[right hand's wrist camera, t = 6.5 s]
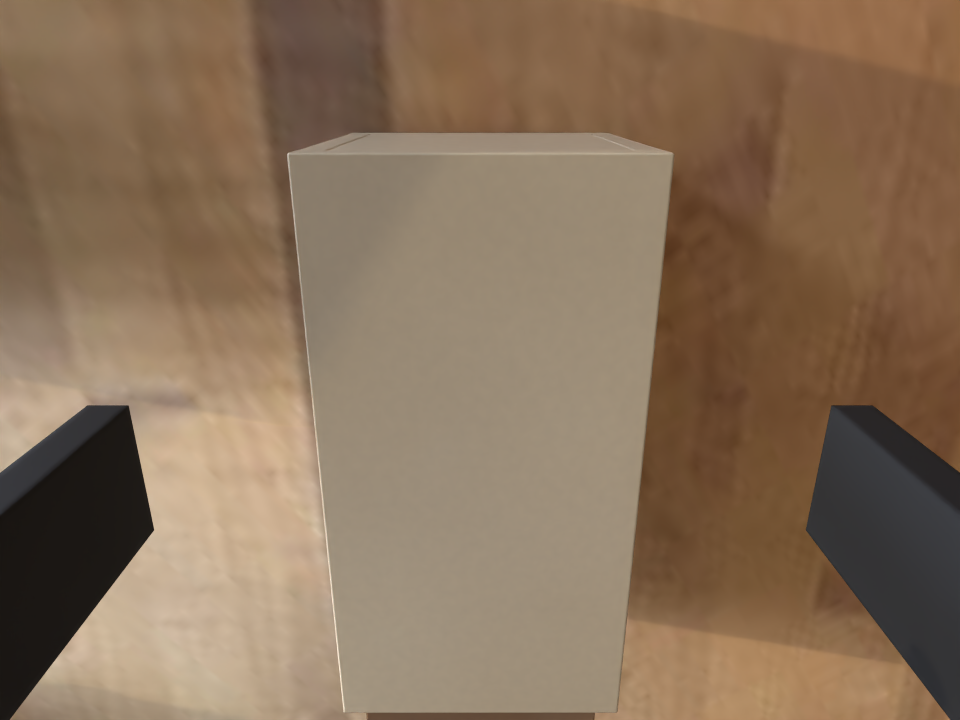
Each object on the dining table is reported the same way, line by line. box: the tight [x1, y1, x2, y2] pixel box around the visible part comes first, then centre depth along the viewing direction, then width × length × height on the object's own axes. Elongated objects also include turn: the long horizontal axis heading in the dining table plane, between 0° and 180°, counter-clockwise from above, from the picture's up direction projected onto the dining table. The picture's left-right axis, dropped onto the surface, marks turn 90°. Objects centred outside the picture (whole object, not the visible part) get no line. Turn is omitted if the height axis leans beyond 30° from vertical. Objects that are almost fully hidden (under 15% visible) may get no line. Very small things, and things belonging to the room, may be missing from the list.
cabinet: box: [287, 133, 674, 713], centre depth 25 cm, size 19×10×9 cm, turn 0°
